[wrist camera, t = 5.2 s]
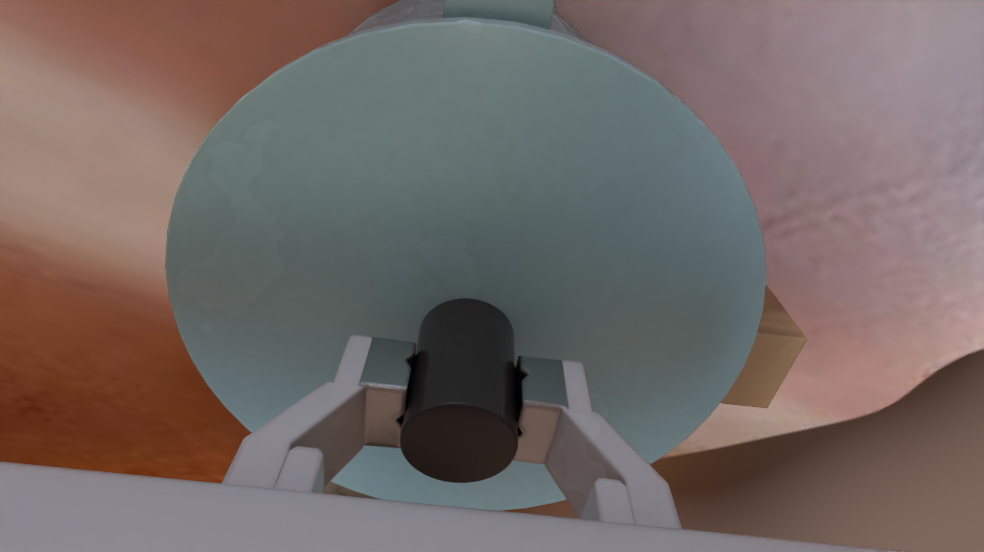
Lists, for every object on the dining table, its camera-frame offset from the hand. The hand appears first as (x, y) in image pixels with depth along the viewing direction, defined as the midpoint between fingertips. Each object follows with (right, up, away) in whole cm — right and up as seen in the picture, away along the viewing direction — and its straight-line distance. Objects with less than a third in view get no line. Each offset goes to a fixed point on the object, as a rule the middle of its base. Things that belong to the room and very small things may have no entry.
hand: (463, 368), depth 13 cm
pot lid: (0, +1, +2) cm, 2 cm away
